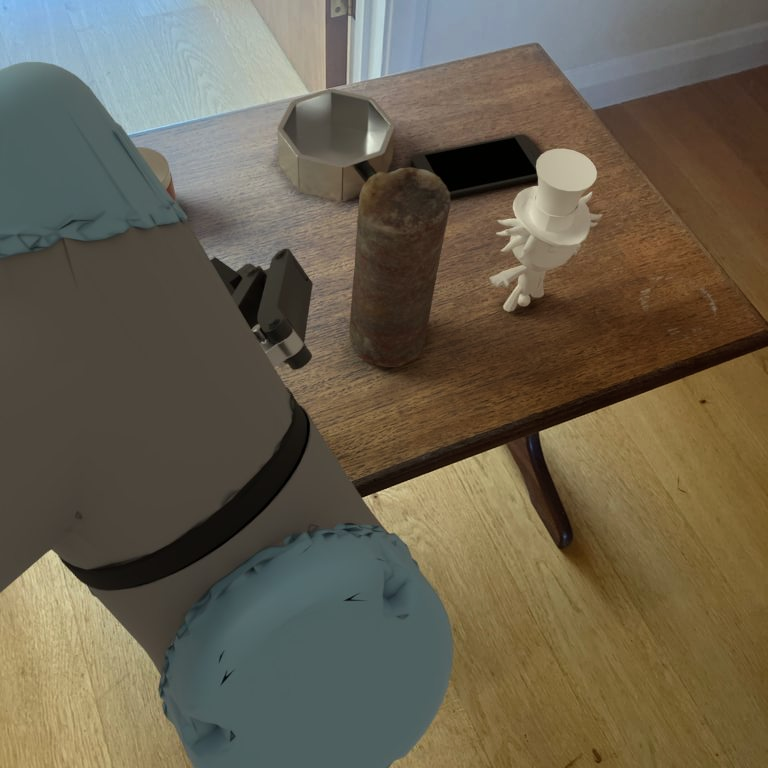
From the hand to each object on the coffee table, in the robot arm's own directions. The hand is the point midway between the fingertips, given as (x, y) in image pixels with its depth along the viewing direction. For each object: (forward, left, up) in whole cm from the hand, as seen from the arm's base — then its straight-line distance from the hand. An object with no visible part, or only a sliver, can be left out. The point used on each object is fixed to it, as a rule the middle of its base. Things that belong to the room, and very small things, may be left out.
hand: (137, 341), depth 52 cm
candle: (+13, +20, -22) cm, 32 cm away
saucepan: (+3, +41, -22) cm, 47 cm away
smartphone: (+17, +47, -22) cm, 54 cm away
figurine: (+25, +29, -22) cm, 44 cm away
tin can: (-16, +28, -22) cm, 39 cm away
